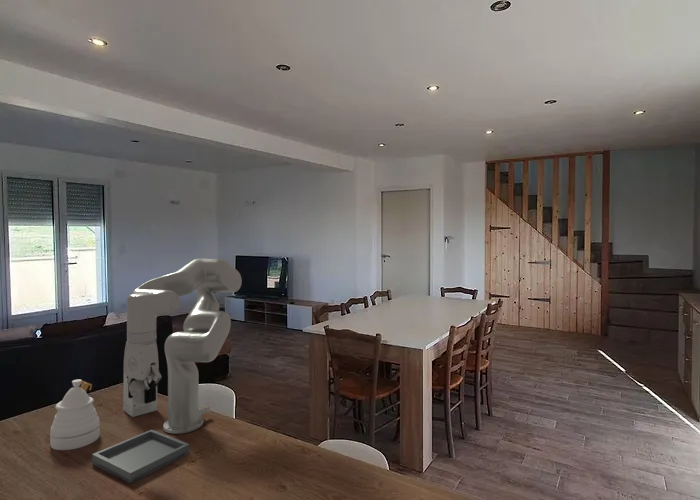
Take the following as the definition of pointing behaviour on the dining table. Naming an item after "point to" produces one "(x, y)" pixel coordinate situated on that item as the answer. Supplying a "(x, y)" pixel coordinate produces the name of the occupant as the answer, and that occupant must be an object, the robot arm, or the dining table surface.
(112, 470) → the tray
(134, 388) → the frog figurine
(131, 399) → the supplement box
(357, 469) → the dining table surface
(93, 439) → the honey pot
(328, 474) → the dining table surface
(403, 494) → the dining table surface
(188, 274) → the robot arm
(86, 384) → the figurine
